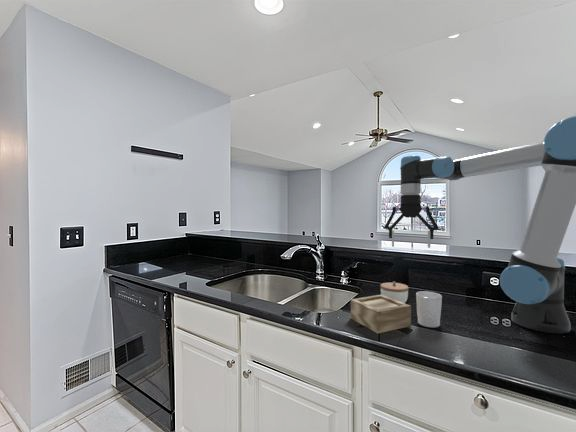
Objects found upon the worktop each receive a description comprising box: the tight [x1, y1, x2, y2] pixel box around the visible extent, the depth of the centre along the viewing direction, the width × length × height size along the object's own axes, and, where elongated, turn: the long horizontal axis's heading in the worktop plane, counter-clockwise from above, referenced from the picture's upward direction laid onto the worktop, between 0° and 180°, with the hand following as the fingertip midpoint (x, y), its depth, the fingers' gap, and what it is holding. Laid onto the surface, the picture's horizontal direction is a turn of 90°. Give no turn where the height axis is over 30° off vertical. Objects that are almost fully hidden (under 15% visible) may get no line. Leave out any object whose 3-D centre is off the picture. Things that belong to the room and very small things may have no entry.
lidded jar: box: [380, 281, 409, 304], centre depth 120 cm, size 11×11×9 cm
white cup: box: [415, 290, 443, 328], centre depth 101 cm, size 8×8×10 cm
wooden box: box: [350, 294, 412, 334], centre depth 102 cm, size 14×14×7 cm
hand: (410, 246), depth 122 cm, fingers open, 13 cm apart
